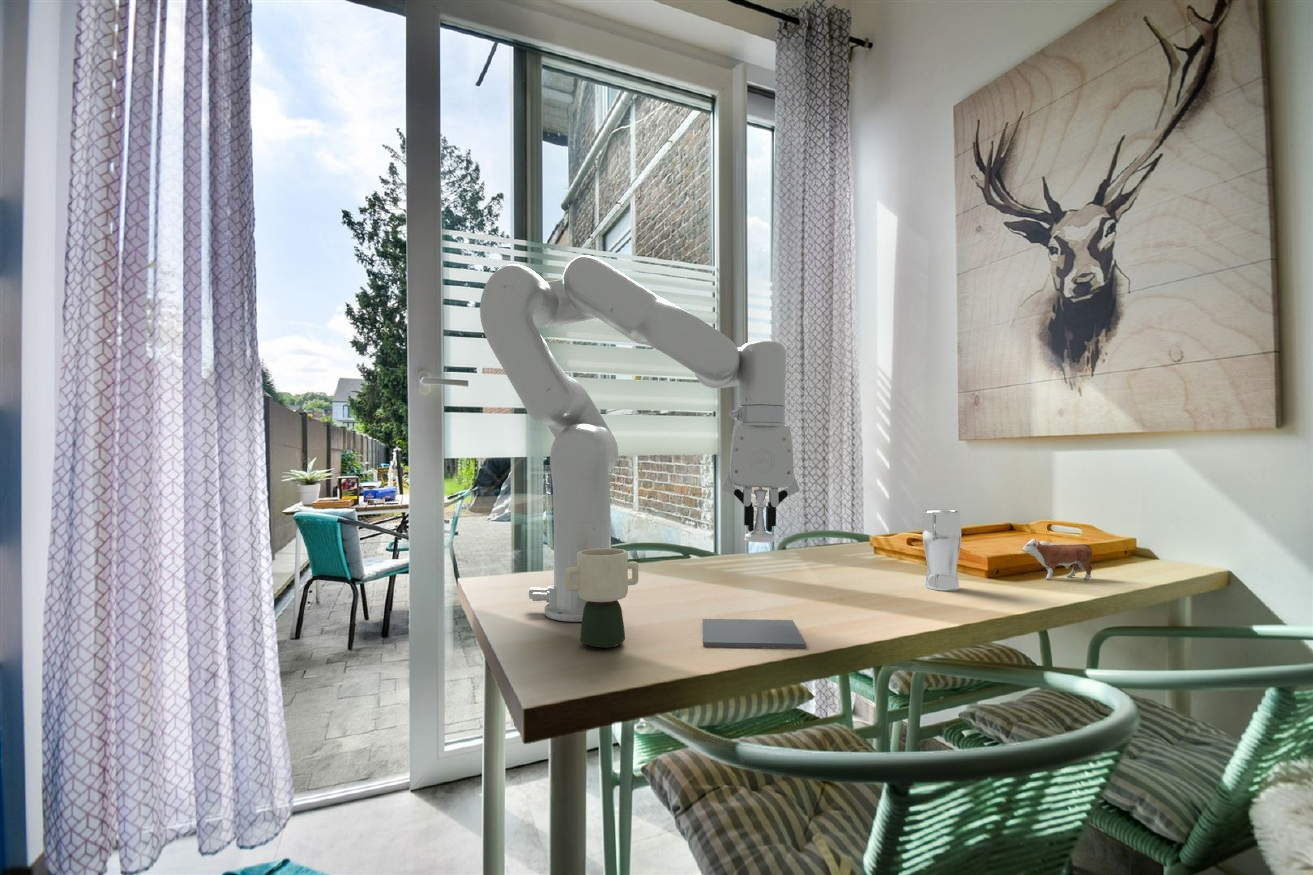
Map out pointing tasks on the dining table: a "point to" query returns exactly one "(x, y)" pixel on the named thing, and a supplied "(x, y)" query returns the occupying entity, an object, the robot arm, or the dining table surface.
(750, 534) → the chess piece
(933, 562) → the beer glass
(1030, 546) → the bull figurine
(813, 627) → the dining table surface
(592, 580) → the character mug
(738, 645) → the mat
